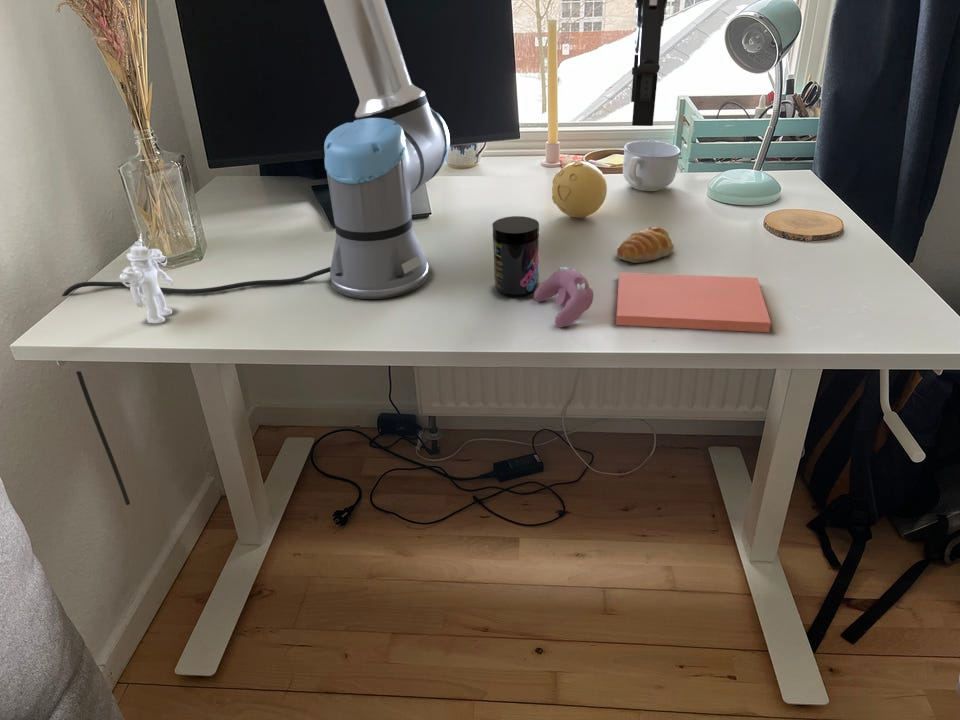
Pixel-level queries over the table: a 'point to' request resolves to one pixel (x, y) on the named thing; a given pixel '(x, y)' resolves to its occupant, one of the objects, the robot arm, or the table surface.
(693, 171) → the table surface
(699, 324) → the foam mat
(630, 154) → the teacup
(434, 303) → the table surface
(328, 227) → the table surface
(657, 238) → the pastry
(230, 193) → the table surface
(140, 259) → the hat wearing toy figure
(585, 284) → the video game controller
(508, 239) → the supplement container
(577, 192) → the stress ball
